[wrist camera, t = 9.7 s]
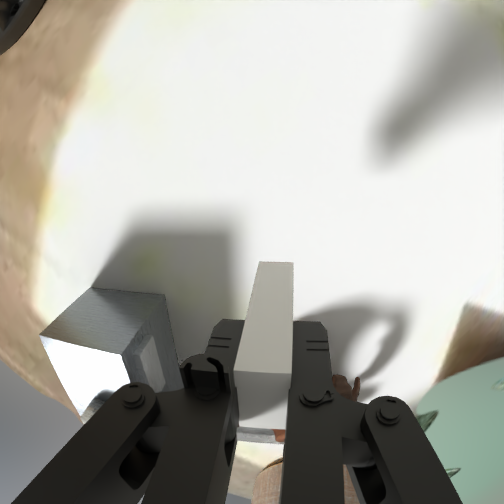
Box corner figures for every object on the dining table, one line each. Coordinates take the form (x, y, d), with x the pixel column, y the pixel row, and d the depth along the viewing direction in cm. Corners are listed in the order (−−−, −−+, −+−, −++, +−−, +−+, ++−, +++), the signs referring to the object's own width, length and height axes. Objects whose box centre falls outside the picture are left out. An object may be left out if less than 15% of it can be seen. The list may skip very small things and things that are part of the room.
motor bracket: (90, 287, 26) (24, 349, 17) (362, 303, 23) (390, 400, 13) (125, 391, 31) (88, 454, 22) (337, 414, 28) (341, 496, 19)
